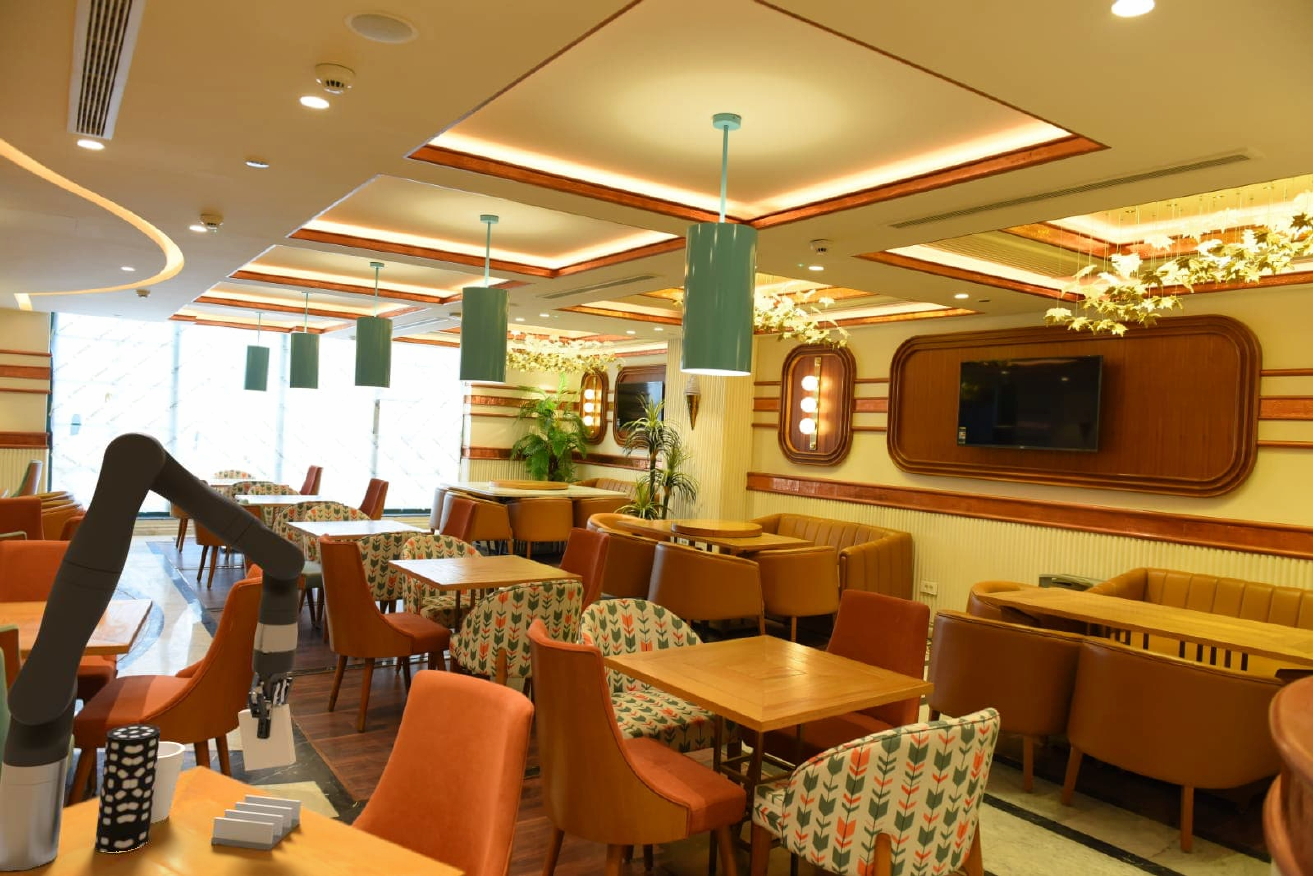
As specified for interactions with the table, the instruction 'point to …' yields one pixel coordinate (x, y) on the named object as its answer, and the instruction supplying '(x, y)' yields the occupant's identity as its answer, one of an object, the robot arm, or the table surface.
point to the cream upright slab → (267, 740)
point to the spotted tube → (127, 788)
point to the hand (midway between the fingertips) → (266, 736)
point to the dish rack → (257, 822)
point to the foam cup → (166, 778)
